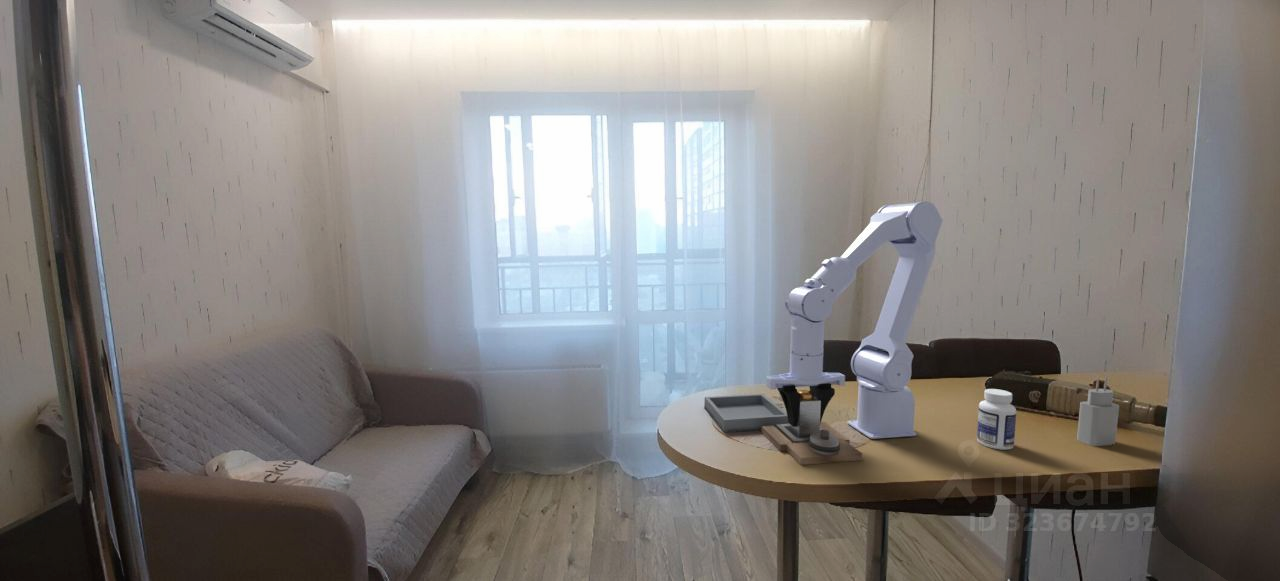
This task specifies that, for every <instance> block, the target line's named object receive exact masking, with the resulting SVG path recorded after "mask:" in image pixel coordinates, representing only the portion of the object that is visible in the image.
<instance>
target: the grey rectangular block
mask: <svg viewBox="0 0 1280 581" xmlns="http://www.w3.org/2000/svg"><path fill="white" fill-rule="evenodd" d="M797 392H799V393H800V394H801V398H800V402H799V407H798V423H797V427H793V426H792V425H791V424H789V432H790V433H792V434H793V435H794V436H795V437H796V438H809V437H810V435H811V434H813V433H820V410H821V400H819V399H818V398H816V397H814V392H812V391H810V389H809V390H808V389H797Z"/></svg>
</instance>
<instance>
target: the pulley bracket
mask: <svg viewBox="0 0 1280 581" xmlns="http://www.w3.org/2000/svg"><path fill="white" fill-rule="evenodd" d="M760 432H761V433H762V434H763V436H765V437H766V439H767V440H768V441H770V442H771V444H772V445H773V446H775V447H776V449H778V450H779V451H780V452H787V453H788V454H789V455H790V456H791V457H792V458H793V460H795V461H796V462H797V463H798V464H799V465H814V464H815V465H816V464H826V463H840V462H852V461H853V462H854V461H862V460H863V452H861V451H860V450H859V449H857V448H856V447H855V446H853V445H851V444H850V442H851V440H850V439H849V438H848V437H846V436H845V435H844V434H842V433H841V432H840V431H838V430H837V429H835V428H834V427H833V426H831V425H830V424H829V423H827V422H825V421H823V422H822V421H821V423H820V433H813V434H811V435H810V437H809V438H796V437H795V436H794V435H793V434H792V433H790V432H789V424H778V425H776V428H775V427H774V426H773V425H772V426H761V430H760Z"/></svg>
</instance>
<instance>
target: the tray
mask: <svg viewBox="0 0 1280 581" xmlns="http://www.w3.org/2000/svg"><path fill="white" fill-rule="evenodd" d="M703 407H704V410H706V412H707V413H708V414H709V416H710V417H711V418H712V420H713V421H714V422H715V423H716V424H717V426H718V427H719V428H720V430H721V431H722V432H723V433H736V431H737V432H751V431H761V426H772V425H773V426H774V427H775V428H776V425H778V424H789V422H788V416H787V412H786V410H784V409H782V407H780V406H779V405H777V403H775V402H773V400H771V399H770V398H769V397H768V396H766V395H765V394H764V393H757V394H756V393H754V394H751V393H750V394H737V395H736V394H735V395H733V394H732V395H719V396H718V395H717V396H704V406H703Z"/></svg>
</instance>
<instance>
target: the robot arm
mask: <svg viewBox="0 0 1280 581" xmlns="http://www.w3.org/2000/svg"><path fill="white" fill-rule="evenodd" d="M943 221H944V220H943V219H942V216H941V214H940V213H939V210H938V208H937V207H936V205H935V204H934V203H932V202H931V201H928V200H927V201H926V200H923V201H918V202H910V203H900V204H885V205H883V206H881V207H880V208H879V209H878V210H877V211H876V213H874V214H873V215H871V216H870V219H869V223H868V225H867V226H866V227H865V228H864V229H863V231H862V232H861V233H860V234H859V235H858V236H857V237H856V239H855V240H854V241H853V242H852V244H850V245H849V246H848V248H847V249H846V250H845V251H844V253H843V254H842V255H840V257H839V256H834V257H833V256H832V257H830V258H826V259H824V260H823V261H822V262H821V267H820V268H819V269H818V270H817V271H816V272H815V273H814V274H813V275H812V276H811V277H810V278H807V279H806V280H805V281H804V284H803V286H799V287H796V288H794V289H792V290H791V291H790V293H789V295H788V297H787V300H786V301H784V307H785V309H786V312H787V313H788V315H789V317H790V318H789V323H790V342H789V344H790V348H789V350H790V351H789V353H790V354H789V372H785V373H782V374H776V375H768V376H766V381H765V382H766V384H765V386H766V388H768V390H769V389H770V390H776V389H777V392H778V393H779V395H780V397H781V399H782V402H783V404H784V407H785V408H784V409H785V412H786V413H787V416H788V422H789V424H791V425H792V426H793V427H797V423H798V407H799V402H800V398H801V394H800V393H799V392H797V391H798V389H797V388H800V387H809V391H812V392H814V397H816V398H818V399H819V400H821V410H820V423H821V422H822V420H823V416H824V413H825V411H826V408H827V407H828V405H829V403H830V401H831V400H832V399H833V398H834V396H835V393H836V390H835V388H834V387H832V386H836V385H837V386H839V387H840V386H845V385H846V384H845V383H846V375H845V374H842V373H840V372H823V370H824V366H823V365H824V343H825V342H824V340H825V338H824V337H825V320H826V318H828V317H830V315H831V314H832V311H833V308H834V306H833V305H834V303H835V302H836V299H837V298H838V297H839V296H840V295H841V294H842V293H843V292H844V291H845V290H846V289H847V288H848V287H849V286H850V285H851V284H852V282H854V281H855V280H856V277H857V270H856V269H857V268H858V267H859V266H861V265H862V264H863V263H864V262H866V260H867V259H869V258H870V257H871V256H872V255H873V254H875V252H877V251H878V250H879V249H880V248H881V247H882V246H884V244H885V243H888V244H889V245H890V247H892V248H893V249H894V250H895V251H896V253H897V254H898V256H899V258H898V261H897V264H896V267H895V271H894V273H893V276H892V278H891V282H890V285H889V288H888V290H887V293H886V296H885V300H884V303H883V305H882V308H881V311H880V313H879V314H880V315H879V317H878V320H877V323H876V326H875V329H874V332H873V333H872V334H870V335H868V336H866V337H864V338H863V339H862V340H861V343H860V345H859V347H858V348H857V349H856V350H855V352H854V353H853V355H852V356H851V360H850V367H851V368H850V369H851V371H852V373H853V374H854V375H855V376H856V381H857V382H858V389H857V390H858V393H857V415H856V416H857V417H856V420H854V419H853V420H847V422H846V423H847V424H848V425H850V427H852V428H854V429H855V430H857V431H858V432H860V433H861V434H862V435H864V436H866V437H868V438H869V439H870V440H873V439H874V440H875V439H890V438H903V437H916V436H917V433H916V432H915V431H914V426H915V407H916V406H915V405H916V404H915V403H916V400H915V396H914V394H913V391H912V390H911V389H910V388H909V387H908V386H907V385H908V384H909V382H910V380H911V377H912V362H913V359H914V354H913V352H912V351H911V349H910V348H909V346H908V345H907V343H906V340H907V337H908V334H909V331H910V328H911V325H912V323H913V319H914V317H915V314H916V311H917V308H918V305H919V302H920V299H921V296H922V294H923V290H924V287H925V285H926V281H927V278H928V275H929V273H930V269H931V267H932V263H933V260H934V257H935V254H936V240H937V238H938V235H939V233H940V230H941V226H942V223H943ZM883 351H885V352H883ZM886 352H888V353H886Z"/></svg>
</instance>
